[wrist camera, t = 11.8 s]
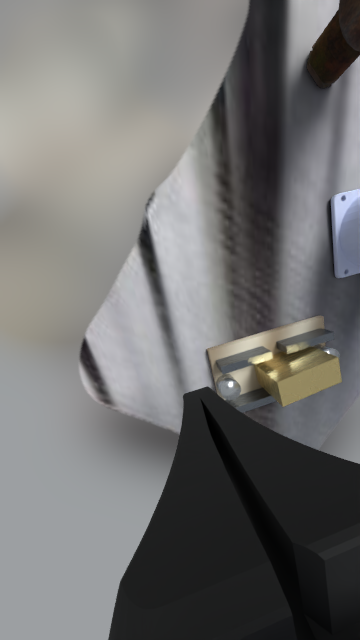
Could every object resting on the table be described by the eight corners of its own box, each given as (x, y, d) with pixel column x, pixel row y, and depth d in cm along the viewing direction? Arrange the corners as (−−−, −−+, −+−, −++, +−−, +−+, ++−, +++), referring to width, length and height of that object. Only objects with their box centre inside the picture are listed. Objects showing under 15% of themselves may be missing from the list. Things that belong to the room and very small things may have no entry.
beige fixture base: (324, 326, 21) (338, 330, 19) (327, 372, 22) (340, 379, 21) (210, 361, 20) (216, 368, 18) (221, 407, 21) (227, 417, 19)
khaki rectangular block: (303, 342, 21) (338, 357, 17) (307, 363, 21) (341, 381, 18) (253, 362, 20) (277, 382, 16) (258, 383, 21) (283, 406, 17)
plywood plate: (318, 315, 21) (323, 316, 21) (323, 378, 23) (328, 381, 22) (206, 348, 20) (208, 351, 19) (221, 413, 22) (223, 416, 21)
